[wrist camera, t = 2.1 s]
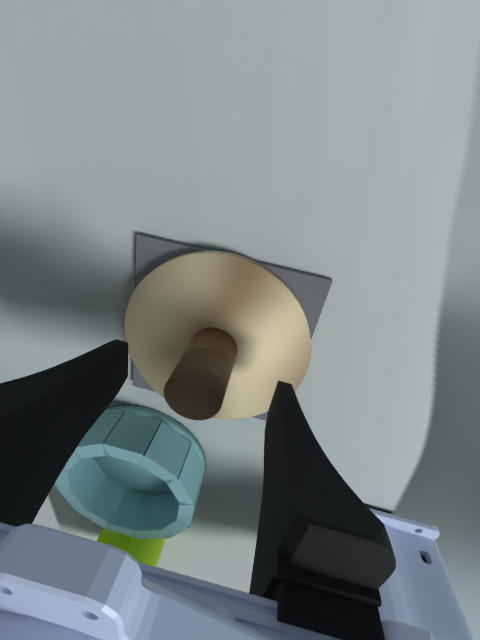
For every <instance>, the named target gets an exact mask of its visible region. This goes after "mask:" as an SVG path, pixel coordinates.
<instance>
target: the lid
mask: <svg viewBox="0 0 480 640" xmlns="http://www.w3.org/2000/svg"><path fill="white" fill-rule="evenodd" d="M124 330H125V339H126V342H128V351H129V354H130V356H131V358H132V360H133V362H134V365H135V366H136V368H137V369H138V371H139V373H140V374H141V375H142V377H143V378H144V379H145V380H146V382H147V383H148V384H149V385H150V386H151V387H152V388H153V389H154V390H155V391H156V392H158V393H159V394H160V395H161V396H162V397H164V398H165V400H166V402H167V404H168V405H169V406H170V408H171V409H172V410H174V411H175V412H176V413H178V414H179V415H181V416H183V417H185V418H188V419H192V420H205V419H209V418H218V419H241V418H248V417H253V416H256V415H259V414H263V413H265V412H267V411H268V410H269V407H270V404H271V401H272V398H273V395H274V392H275V389H276V386H277V382H278V381H282V382H286V383H290V384H292V386H293V388H294V391H296V390H297V388H298V387H299V385H300V384H301V382H302V381H303V378H304V376H305V374H306V372H307V369H308V365H309V362H310V355H311V338H310V331H309V325H308V321H307V318H306V315H305V312H304V309H303V307H302V305H301V304H300V302H299V300H298V298H297V297H296V295H295V294H294V292H293V291H292V290H291V288H290V287H289V286H288V285H287V284H286V283H285V282H284V281H283V280H282V279H281V278H280V277H279V276H277V275H276V274H275V273H274V272H273V271H271V270H270V269H268V268H267V267H265V266H263V265H262V264H260V263H258V262H256V261H254V260H252V259H250V258H247V257H244V256H241V255H238V254H235V253H229V252H224V251H208V250H207V251H198V252H191V253H187V254H183V255H180V256H178V257H175V258H173V259H170V260H168V261H167V262H165V263H163V264H162V265H160V266H159V267H157V268H156V269H154V270H153V271H152V272H151V273H149V274H148V275H147V276H146V277H145V278H144V279H143V280H142V281H141V282H140V283H139V285H138V286H137V287H136V289H135V291H134V292H133V294H132V296H131V298H130V300H129V303H128V305H127V309H126V314H125V323H124Z"/></svg>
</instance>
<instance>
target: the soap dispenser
mask: <svg viewBox="0 0 480 640" xmlns="http://www.w3.org/2000/svg"><path fill="white" fill-rule="evenodd" d="M97 541H98V542H101V543H105V544H108V545H112V546H114V547H116V548H119V549H121V550H123V551H126V552H127V553H128V554H130V555H131V556H132V557H133V558H135V559H136V560H137V562H141V563H144V564H148V565H151V566H155V567H156V565H157V563H158V560H159V557H160V554H161V551H162V548H163V545H164V542H165V538H161V539H139V538H138V539H137V538H134V537H130V536H127V535H123V534H120V533H116V532H113V531H109V530H107V528H106V529H104V528H103V530H102V532H101V534H100V535H99V537H98V539H97Z"/></svg>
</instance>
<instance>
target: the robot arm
mask: <svg viewBox="0 0 480 640" xmlns="http://www.w3.org/2000/svg"><path fill="white" fill-rule="evenodd" d="M127 377H128V342H124V341H120V340H113V341H111V342H109V343H106V344H104V345H102V346H100V347H98V348H96V349H94V350H92V351H89V352H87V353H85V354H83V355H81V356H78V357H76V358H74V359H72V360H69V361H67V362H64V363H62V364H59V365H57V366H55V367H52V368H49V369H47V370H44V371H41V372H38V373H35V374H32V375H29V376H26V377H23V378H19V379H15V380H12V381H8V382H4V383H1V384H0V640H474V639H473V637H472V634H471V632H470V630H469V627H468V624H467V622H466V619H465V617H464V614H463V612H462V609H461V606H460V604H459V601H458V599H457V596H456V594H455V591H454V589H453V586H452V583H451V581H450V578H449V576H448V573H447V571H446V568H445V566H444V563H443V561H442V558H441V555H440V553H439V550H438V548H437V545H436V543H435V541H434V540H435V539H436V538H437V537H438V536H439V531H438V529H437V527H435V526H433V525H429V524H426V523H422V522H418V521H415V520H410V519H407V518H403V517H399V516H396V515H392V514H389V513H385V512H381V511H378V510H374V509H370V508H368V507H367V506H366V505H365V504H364V503H363V502H362V501H361V500H360V499H359V497H358V496H357V495H356V494H355V493H354V492H353V491H352V489H351V488H350V487H349V486H348V485H347V483H346V482H345V481H344V480H343V478H342V477H341V476H340V474H339V473H338V472H337V470H336V469H335V468H334V467H333V465H332V464H331V462H330V461H329V459H328V458H327V456H326V455H325V453H324V452H323V450H322V448H321V447H320V445H319V443H318V442H317V440H316V438H315V436H314V434H313V432H312V431H311V429H310V427H309V425H308V423H307V420H306V418H305V416H304V414H303V412H302V409H301V407H300V405H299V402H298V400H297V397H296V394H295V391H294V388H293V386H292V384H290V383H286V382H282V381H278V382H277V386H276V389H275V392H274V395H273V398H272V401H271V404H270V407H269V410H268V413H267V420H266V427H265V441H264V481H263V494H262V502H261V511H260V519H259V527H258V535H257V542H256V549H255V557H254V564H253V571H252V578H251V585H250V592H249V593H245V592H242V591H238V590H235V589H232V588H228V587H224V586H221V585H218V584H214V583H211V582H207V581H204V580H200V579H196V578H193V577H189V576H186V575H183V574H179V573H175V572H172V571H168V570H165V569H162V568H158V567H155V566H151V565H148V564H144V563H141V562H137V560H136V559H135V558H133V557H132V556H131V555H130V554H128V553H127V552H126V551H123V550H121V549H119V548H116V547H114V546H112V545H108V544H105V543H101V542H98V541H94V540H91V539H87V538H83V537H80V536H76V535H73V534H69V533H66V532H62V531H59V530H55V529H52V528H48V527H45V526H41V525H35V524H32V522H33V521H34V519H35V517H36V515H37V513H38V511H39V509H40V508H41V506H42V504H43V502H44V501H45V499H46V497H47V495H48V494H49V492H50V490H51V488H52V487H53V485H54V483H55V482H56V480H57V478H58V477H59V475H60V473H61V472H62V470H63V468H64V467H65V465H66V463H67V462H68V460H69V459H70V457H71V456H72V454H73V452H74V451H75V449H76V448H77V446H78V445H79V443H80V442H81V440H82V439H83V437H84V436H85V435H86V433H87V432H88V431H89V429H90V428H91V427H92V426H93V424H94V423H95V422H96V421H97V419H98V418H99V417H100V416H101V414H102V413H103V412H104V411H105V409H106V408H107V407H108V406H109V404H110V403H111V402H112V400H113V399H114V398H115V397H116V395H117V394H118V392H119V391H120V389H121V387H122V386H123V384H124V382H125V380H126V379H127Z"/></svg>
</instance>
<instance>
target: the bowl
mask: <svg viewBox="0 0 480 640" xmlns="http://www.w3.org/2000/svg"><path fill="white" fill-rule="evenodd" d="M205 470H206V457H205V454H204V451H203V449H202V446H201V445H200V443H199V441H198V440H197V439H196V437H195V436H194V435H193V434H192V433H191V432H190V431H189V430H188V429H187V428H186V427H185V426H183V425H182V424H181V423H179V422H178V421H176V420H175V419H173V418H171V417H170V416H168V415H166V414H164V413H161V412H159V411H156V410H153V409H150V408H146V407H142V406H135V405H118V406H113V407H109V408H106V409H105V411H104V412H103V413H102V414H101V416H100V417H99V418H98V419H97V421H96V422H95V423H94V424H93V426H92V427H91V428H90V429H89V431H88V432H87V433H86V435H85V436H84V437H83V439H82V440H81V442H80V443H79V445H78V446H77V448H76V449H75V451H74V452H73V454H72V456H71V457H70V459H69V460H68V462H67V463H66V465H65V467H64V468H63V470H62V472H61V473H60V475H59V477H58V478H57V480H56V487H57V490H58V491H59V492H60V493H61V494H62V496H63V497H64V498H65V499H66V500H67V501H68V502H69V504H70V505H71V506H72V507H73V508H74V509H75V511H78V513H79V514H81V515H83V516H84V517H86V518H88V519H89V520H91V521H93V522H94V523H96V524H98V525H99V526H101V527H103V528H104V529H106V528H107V530H109V531H113V532H116V533H120V534H123V535H127V536H130V537H134V538H137V539H138V538H139V539H161V538H171V537H173V536H174V535H176V534H178V533H180V532H181V531H183V530H185V529H187V528H189V527H190V525H191V522H192V518H193V514H194V511H195V507H196V504H197V500H198V497H199V493H200V490H201V485H202V481H203V477H204V473H205Z"/></svg>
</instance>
